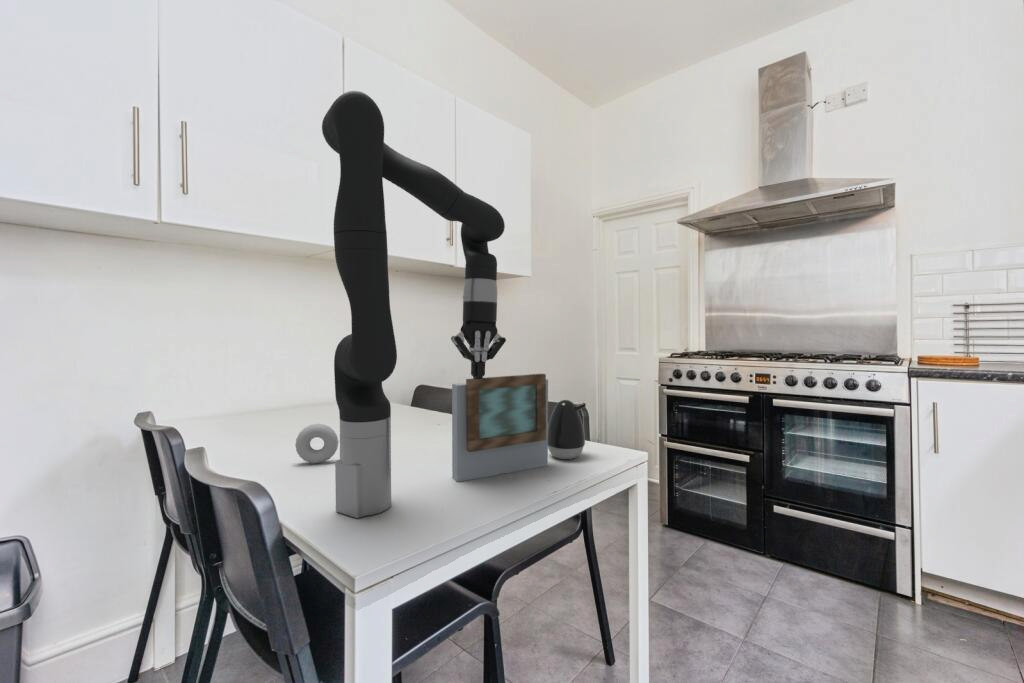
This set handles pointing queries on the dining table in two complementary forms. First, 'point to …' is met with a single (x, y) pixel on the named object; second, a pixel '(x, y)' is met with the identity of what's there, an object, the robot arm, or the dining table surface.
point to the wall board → (490, 459)
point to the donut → (311, 454)
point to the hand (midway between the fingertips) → (477, 378)
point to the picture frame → (505, 411)
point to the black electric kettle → (566, 430)
